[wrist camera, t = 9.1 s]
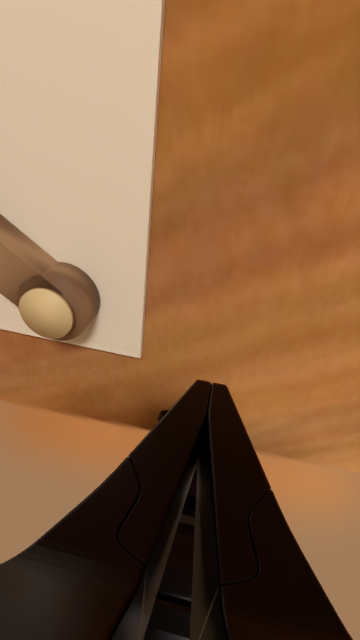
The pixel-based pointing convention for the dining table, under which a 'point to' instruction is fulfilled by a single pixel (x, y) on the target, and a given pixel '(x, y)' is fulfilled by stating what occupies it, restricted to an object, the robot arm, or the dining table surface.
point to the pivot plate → (81, 155)
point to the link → (44, 277)
